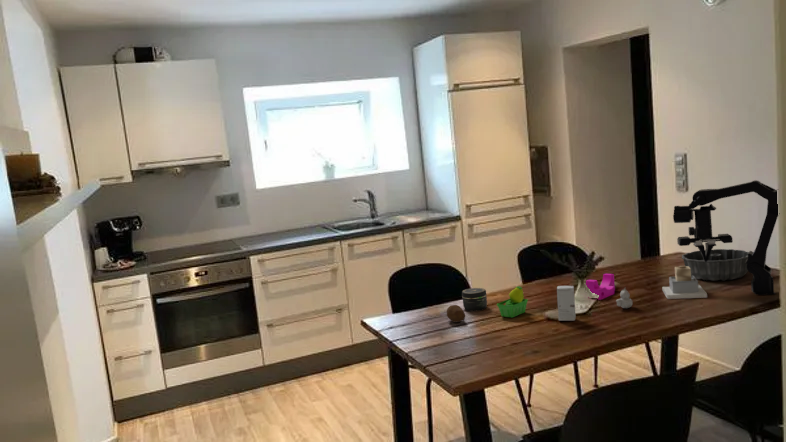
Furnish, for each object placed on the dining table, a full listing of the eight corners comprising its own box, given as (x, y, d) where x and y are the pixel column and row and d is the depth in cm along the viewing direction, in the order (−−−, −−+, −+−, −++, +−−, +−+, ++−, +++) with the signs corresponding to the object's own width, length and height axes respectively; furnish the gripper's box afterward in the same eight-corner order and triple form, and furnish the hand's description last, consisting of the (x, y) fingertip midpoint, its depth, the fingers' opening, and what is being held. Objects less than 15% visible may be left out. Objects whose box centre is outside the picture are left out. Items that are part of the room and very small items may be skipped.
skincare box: (558, 321, 228) (555, 288, 226) (559, 317, 232) (556, 285, 231) (576, 320, 226) (573, 288, 225) (576, 317, 230) (573, 285, 229)
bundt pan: (677, 283, 264) (675, 260, 262) (688, 270, 285) (687, 248, 284) (749, 285, 248) (747, 260, 247) (755, 271, 270) (754, 248, 269)
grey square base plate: (700, 288, 250) (699, 274, 250) (707, 297, 237) (706, 281, 236) (662, 290, 254) (661, 275, 254) (667, 298, 241) (666, 283, 240)
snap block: (689, 278, 247) (688, 264, 246) (691, 281, 242) (690, 267, 241) (675, 279, 248) (674, 265, 248) (677, 281, 243) (676, 267, 243)
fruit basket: (513, 309, 250) (511, 282, 249) (532, 311, 244) (530, 283, 243) (496, 316, 242) (494, 288, 241) (515, 319, 236) (513, 290, 235)
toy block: (600, 300, 250) (598, 282, 250) (586, 298, 255) (585, 280, 255) (620, 292, 260) (619, 274, 259) (607, 290, 265) (605, 273, 264)
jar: (492, 306, 259) (490, 288, 258) (478, 312, 252) (476, 294, 251) (472, 304, 266) (471, 286, 265) (458, 310, 258) (456, 292, 258)
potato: (454, 325, 237) (452, 309, 237) (442, 320, 246) (441, 304, 246) (469, 321, 240) (468, 306, 239) (457, 316, 249) (455, 301, 248)
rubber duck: (636, 308, 233) (635, 287, 233) (621, 311, 232) (620, 290, 231) (627, 305, 239) (625, 284, 238) (612, 308, 237) (611, 287, 236)
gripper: (724, 217, 248) (727, 256, 250) (674, 221, 254) (676, 259, 255) (731, 221, 238) (734, 261, 239) (678, 225, 243) (681, 264, 244)
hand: (705, 261), depth 245 cm, fingers closed
